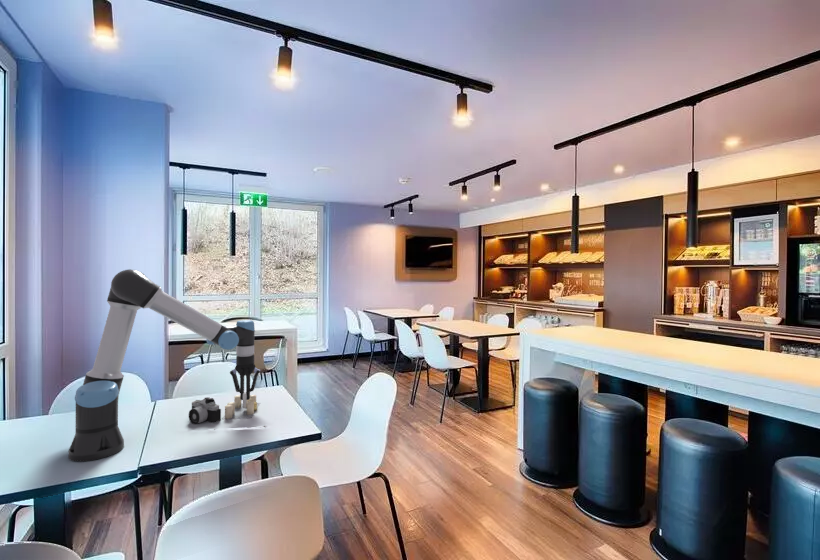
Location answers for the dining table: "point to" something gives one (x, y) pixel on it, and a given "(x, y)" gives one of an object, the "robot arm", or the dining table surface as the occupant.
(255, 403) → the nut
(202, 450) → the dining table surface
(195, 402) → the camera
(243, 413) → the board
